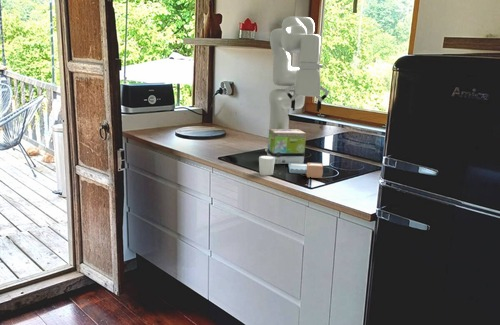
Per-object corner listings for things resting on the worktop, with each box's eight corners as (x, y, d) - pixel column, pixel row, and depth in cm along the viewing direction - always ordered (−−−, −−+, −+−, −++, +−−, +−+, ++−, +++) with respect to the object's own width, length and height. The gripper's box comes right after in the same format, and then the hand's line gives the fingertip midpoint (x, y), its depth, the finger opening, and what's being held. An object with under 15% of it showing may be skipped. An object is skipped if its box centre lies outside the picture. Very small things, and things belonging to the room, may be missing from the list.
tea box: (273, 164, 207) (275, 132, 204) (266, 159, 217) (268, 128, 213) (304, 164, 211) (306, 132, 208) (296, 158, 221) (298, 128, 217)
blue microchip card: (288, 166, 206) (288, 162, 205) (319, 167, 206) (319, 164, 205) (289, 172, 195) (289, 169, 195) (322, 174, 195) (323, 170, 195)
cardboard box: (306, 174, 195) (307, 162, 193) (320, 174, 194) (321, 163, 193) (307, 177, 190) (308, 165, 188) (321, 178, 190) (322, 166, 188)
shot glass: (264, 176, 188) (265, 159, 186) (254, 172, 194) (255, 156, 192) (277, 174, 192) (278, 158, 190) (267, 170, 198) (268, 154, 196)
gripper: (330, 67, 182) (326, 110, 186) (286, 65, 183) (283, 108, 187) (332, 68, 175) (328, 113, 179) (286, 66, 175) (284, 110, 179)
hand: (305, 110), depth 183 cm, fingers open, 9 cm apart
